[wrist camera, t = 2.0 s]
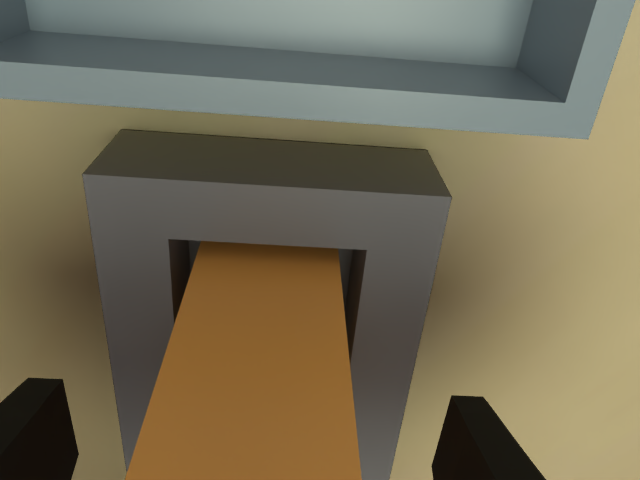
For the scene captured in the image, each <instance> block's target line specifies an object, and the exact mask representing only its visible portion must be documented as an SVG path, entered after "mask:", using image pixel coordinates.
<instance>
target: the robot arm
mask: <svg viewBox="0 0 640 480" xmlns="http://www.w3.org/2000/svg"><path fill="white" fill-rule="evenodd" d="M78 455H79V453H78V449H77V444H76V439H75V435H74V430H73V425H72V421H71V416H70V411H69V407H68V402H67V397H66V393H65V388H64V383H63V379H44V378H28V379H26V380H25V381H24V382H23V383H22V384H21V385H20V386H18V387H17V388H16V389H15V390H14V391H13V392H12V393H11V394H10V395H9V396H7V397H6V398H5V399H4V400H3V401H2V402H1V403H0V480H71V478H72V475H73V471H74V468H75V465H76V461H77V458H78ZM432 472H433V480H546V479H545V478H544V476H543V475H542V474H541V473H540V471H539V470H538V469H537V467H536V466H535V465H534V464H533V462H532V461H531V460H530V458H529V457H528V456H527V454H526V453H525V452H524V450H523V449H522V448H521V447H520V445H519V444H518V443H517V441H516V440H515V439H514V437H513V436H512V435H511V433H510V432H509V430H508V429H507V428H506V426H505V425H504V424H503V422H502V421H501V420H500V418H499V417H498V416H497V414H496V413H495V412H494V410H493V409H492V407H491V406H490V405H489V403H488V402H487V401H486V400H485V399H484V397H475V396H451V399H450V403H449V406H448V410H447V413H446V417H445V420H444V424H443V428H442V431H441V435H440V438H439V442H438V445H437V449H436V453H435V456H434V460H433V463H432Z"/></svg>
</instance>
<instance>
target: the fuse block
mask: <svg viewBox="0 0 640 480" xmlns="http://www.w3.org/2000/svg"><path fill="white" fill-rule="evenodd" d="M82 175H83V182H84V189H85V195H86V202H87V209H88V216H89V222H90V229H91V236H92V242H93V249H94V256H95V263H96V269H97V276H98V283H99V289H100V296H101V303H102V310H103V316H104V323H105V330H106V337H107V343H108V350H109V357H110V363H111V370H112V377H113V384H114V390H115V397H116V404H117V411H118V417H119V424H120V431H121V437H122V444H123V451H124V458H125V464H126V471H128V468H129V465H130V462H131V459H132V456H133V452H134V449H135V446H136V443H137V440H138V437H139V434H140V431H141V427H142V424H143V421H144V418H145V415H146V412H147V409H148V405H149V402H150V399H151V396H152V393H153V390H154V387H155V383H156V380H157V377H158V374H159V371H160V368H161V365H162V362H163V358H164V355H165V352H166V349H167V346H168V343H169V340H170V336H171V333H172V330H173V327H174V324H175V321H176V318H177V314H178V311H179V308H180V305H181V302H182V299H183V296H184V293H185V289H186V286H187V283H188V280H189V277H190V274H191V271H192V267H193V264H194V261H195V258H196V255H197V252H198V249H199V245H200V242H201V241H213V242H231V243H249V244H267V245H285V246H303V247H321V248H338V253H339V263H340V272H341V282H342V292H343V302H344V311H345V321H346V331H347V341H348V351H349V360H350V370H351V380H352V390H353V399H354V409H355V419H356V429H357V438H358V448H359V458H360V468H361V478H362V480H389V478H390V474H391V469H392V465H393V460H394V456H395V451H396V447H397V442H398V438H399V433H400V429H401V424H402V420H403V415H404V411H405V406H406V402H407V397H408V393H409V388H410V384H411V379H412V375H413V370H414V366H415V361H416V357H417V352H418V348H419V343H420V339H421V334H422V330H423V325H424V321H425V316H426V312H427V307H428V303H429V298H430V294H431V289H432V285H433V280H434V276H435V271H436V267H437V262H438V258H439V253H440V249H441V244H442V239H443V235H444V230H445V226H446V221H447V217H448V212H449V208H450V203H451V199H452V196H451V195H450V193H449V191H448V189H447V187H446V185H445V183H444V181H443V179H442V177H441V176H440V174H439V172H438V170H437V168H436V166H435V164H434V162H433V160H432V159H431V157H430V155H429V153H428V151H427V150H418V149H403V148H388V147H373V146H358V145H343V144H328V143H313V142H299V141H284V140H269V139H254V138H239V137H224V136H209V135H195V134H180V133H165V132H150V131H135V130H120V131H119V132H118V134H117V135H116V136H115V137H114V138H113V139H112V140H111V142H110V143H109V144H108V145H107V146H106V147H105V149H104V150H103V151H102V152H101V153H100V154H99V156H98V157H97V158H96V159H95V160H94V161H93V162H92V164H91V165H90V166H89V167H88V168H87V169H86V171H85V172H84V173H83V174H82Z"/></svg>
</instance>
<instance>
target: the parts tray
mask: <svg viewBox="0 0 640 480" xmlns="http://www.w3.org/2000/svg"><path fill="white" fill-rule="evenodd" d="M634 3H635V0H0V98H3V99H17V100H31V101H46V102H60V103H74V104H89V105H103V106H117V107H132V108H146V109H160V110H175V111H189V112H203V113H218V114H232V115H246V116H261V117H275V118H289V119H304V120H318V121H332V122H347V123H361V124H375V125H390V126H404V127H418V128H433V129H447V130H461V131H476V132H490V133H504V134H519V135H533V136H547V137H562V138H576V139H588V138H589V135H590V133H591V130H592V127H593V124H594V121H595V118H596V115H597V112H598V109H599V106H600V103H601V100H602V97H603V94H604V91H605V88H606V85H607V83H608V80H609V77H610V74H611V71H612V68H613V65H614V62H615V59H616V56H617V53H618V50H619V47H620V44H621V41H622V38H623V35H624V33H625V30H626V27H627V24H628V21H629V18H630V15H631V12H632V9H633V6H634Z"/></svg>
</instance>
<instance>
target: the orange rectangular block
mask: <svg viewBox="0 0 640 480" xmlns="http://www.w3.org/2000/svg"><path fill="white" fill-rule="evenodd" d="M125 480H362V478H361V468H360V458H359V448H358V438H357V429H356V419H355V409H354V399H353V390H352V380H351V370H350V360H349V351H348V341H347V331H346V321H345V311H344V302H343V292H342V282H341V272H340V263H339V253H338V248H321V247H303V246H285V245H267V244H249V243H231V242H213V241H201V242H200V245H199V249H198V252H197V255H196V258H195V261H194V264H193V267H192V271H191V274H190V277H189V280H188V283H187V286H186V289H185V293H184V296H183V299H182V302H181V305H180V308H179V311H178V314H177V318H176V321H175V324H174V327H173V330H172V333H171V336H170V340H169V343H168V346H167V349H166V352H165V355H164V358H163V362H162V365H161V368H160V371H159V374H158V377H157V380H156V383H155V387H154V390H153V393H152V396H151V399H150V402H149V405H148V409H147V412H146V415H145V418H144V421H143V424H142V427H141V431H140V434H139V437H138V440H137V443H136V446H135V449H134V452H133V456H132V459H131V462H130V465H129V468H128V471H127V474H126V478H125Z"/></svg>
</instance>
